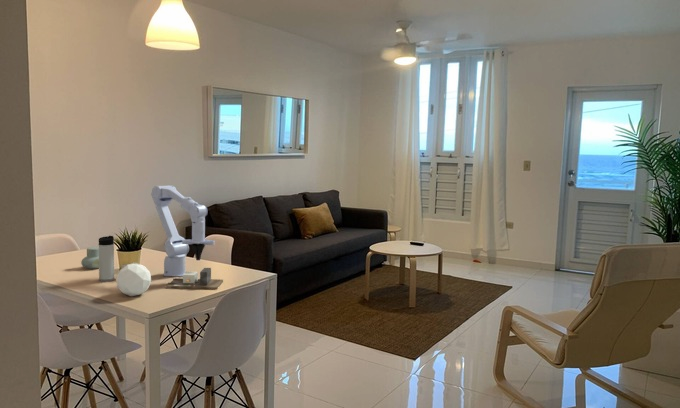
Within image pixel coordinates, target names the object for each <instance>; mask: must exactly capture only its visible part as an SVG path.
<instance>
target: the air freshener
mask: <svg viewBox="0 0 680 408" xmlns="http://www.w3.org/2000/svg"><path fill="white" fill-rule="evenodd" d="M80 262H81V263H80V264H81V265H82V267H83V268H86V269H88V270H97V269H98V270H99V246H91V247H87V248H86V256H85V257H83V258H82V259H81V261H80Z"/></svg>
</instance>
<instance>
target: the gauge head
mask: <svg viewBox="0 0 680 408" xmlns="http://www.w3.org/2000/svg"><path fill="white" fill-rule="evenodd" d="M185 272H186V273H184V274H183V276H182V279H183V283H196V282H197V281H198V279H199V272H198V271H188V270H187V271H185Z"/></svg>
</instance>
